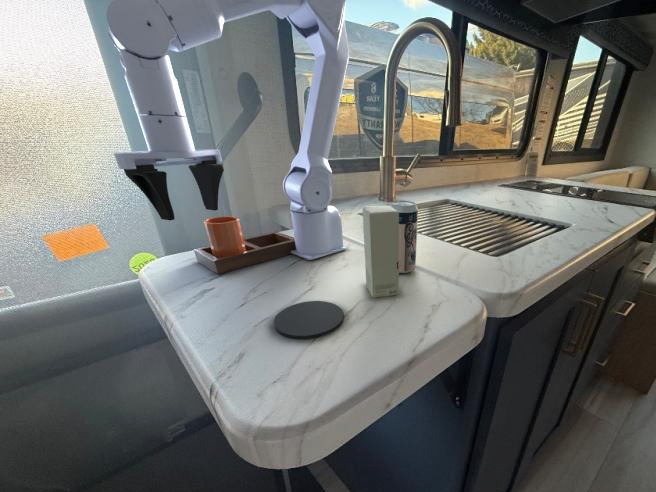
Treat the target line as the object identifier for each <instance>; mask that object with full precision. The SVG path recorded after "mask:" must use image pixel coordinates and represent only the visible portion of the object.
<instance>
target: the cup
mask: <svg viewBox="0 0 656 492" xmlns="http://www.w3.org/2000/svg"><path fill="white" fill-rule="evenodd" d="M203 224H204V228H205V232H206V235H207V239H208V243H209V246H211V250H212V253H213V256H214V257H216V258H221V257H225V256H229V255H233V254H237V253H241V252H245V251H246V249H245V244H244V240H243V239H244V236H243V232H242V226H241V223H240V218H239V217H237V216H233V215H232V216H231V215H225V216H224V215H223V216H215V217H210V218H206V219H204V220H203Z"/></svg>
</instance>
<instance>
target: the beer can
mask: <svg viewBox="0 0 656 492" xmlns="http://www.w3.org/2000/svg"><path fill="white" fill-rule="evenodd" d="M390 207H392V208H394V209H395V210H397V211H398V212H399V274H409V273H411V272H413V271H415V270H416V266H417V265H416V263H417V241H418V238H417V237H418V220H419V219H418V217H419V208H418V205H417V203H416V202H414V201H407V200H398V201H393V202H392V203H391V205H390Z"/></svg>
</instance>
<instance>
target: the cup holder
mask: <svg viewBox="0 0 656 492" xmlns="http://www.w3.org/2000/svg"><path fill="white" fill-rule="evenodd" d="M243 240H244V244H245V249H246V251H245V252H241V253H237V254H233V255H229V256H225V257H221V258H216V257H214V256H213V253H212V250H211V246H210V245H208V246H207V245H206V246H204V247H199V248H194V249H193V252H194V255H195V259H196V262H197V263H199V264H200V265H202V266H203V267H205V268H207V270H210V271H211V272H213V273H215V274H217V275H221V274H224V273H228V272H231V271H235V270H239V269H242V268H245V267H246V268H247V267H248V266H252V265H256V264H259V263H260V264H261V263H264V262H267V261H270V260H273V259H278V258H281V257H285V256H288V255H291V254H292V253H291V251H293V250H296V246H295V239H294V236H291V235H287V234H285V233H282V232H279V231H272V232H268V233H263V234H258V235H253V236H249V237H245V238H244V237H243Z"/></svg>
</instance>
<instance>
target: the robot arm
mask: <svg viewBox="0 0 656 492" xmlns="http://www.w3.org/2000/svg"><path fill="white" fill-rule="evenodd" d="M346 6H347V0H111V1H110V3H109V5H107V8H106V21H107V22H106V23H107V26H108V31H109V32H108V37H109V39H110V40H111V42H112V44H113V45H114V47H115V48H116V49H117V50H118V52H119V61H120V64H121V66H122V67H123V69H124V71H125V72H124V79H125V82H126V85H127V88H128V92H129V95H130V97H131V100H132V104H133V106H134V111H135V112H136V113H135V114H136V115H137V119H138V121H139V125H140V127H141V130H142V134H143V136H144V137H143V138H144V140H145V143H146V146H147V149H148V150H140V151H123V152H122V151H120V152H113V156H114V159H115V162H116V164H117V166H118V169H119V170H123V171H124V172H123V173H124V174H125V176H126V177H127V178H128V179H129V180H130V181H131V182H132V183H134V185H135V186H136V187H137V188H138V189H139V190H140V191H141V192H142V193H143V194H144V196H145V197H146V198H147V199H148V200H149V202H150V203H151V205H152V206H153V208H154V209H155V211H156V212H157V214H158V216H159V217H160V219H161V220H164V221H174V220H175V212H174V208H173V206H172V202H171V199H170V196H169V190H168V189H169V188H168V179H167V176H168V175H167V172H166V171H163V170H158V168H157V167H169V166H170V167H171V166H182V165H183V166H184V165H185V166H186V165H188V168H189V170H190V172H191V174H192V176H193V178H194V180H195V183H196V185H197V187H198V189H199V192H200V197H201V199H202V202H203V206H204V208H205V210H208V211H218V210H219V191H220V190H219V189H220V184H221V179H222V176H223V174H224V171H225V168H224V164H222V163H223V159H222V153H221V149H215V148H213V149H211V148H209V149H208V148H206V149H205V148H203V149H202V148H201V149H196V147H195V144H194V140H193V137H192V132H191V129H190V125H189V121H188V117H187V114H186V110H185V106H184V102H183V98H182V95H181V91H180V87H179V84H178V80H177V78H176V77H175V74H174V71H173V66H172V64H171V63H172V62H171V59H170V56H169V55H168V54H167V53H168V52H169V51H173V52H175V53H181V52H183V51H186V50H189V49H191V48H194V47H197V46H198V47H199V46H201V45H203V44H206V43H209V42H212V41H215V40H218V39H220V38H221V37H222V35H223V28H224V23H228V22H231V21H235V20H239V19H242V18H245V17H249V16H253V15H256V14H260V13H263V12H266V11H267V12H268V11H270V12H271V13H273V14H274V15H275V16H276V17H277V18H278V19H280V20H283V19H285V18H286V20H287V22H288V23H289V24H290V25H291V26H292V27H293V29H294V30H295V31H296V32H297V34H298V35H299V36H300V37H301V38H302V39H303V41H304V42H305V43H306V44H307V45H308V47H309V48H310V50H311V52H312V54H313V56H314V59H315V60H314V65H313V70H312V76H311V81H310V85H309V86H310V87H309V92H308V98H307V103H306V108H305V115H304V119H303V125H302V131H301V137H300V141H299V148H298V152H297V154H296V155H295V157H294V158H293V160H292V161H291V165H290V169H289V171H288V173H287V174H286V175H285V177H284V179H283V181H282V189H283V193H284V195H285V196H286V198H287V199H288V200H289V201H290V205H289V209H290V218H291V224H292V231H293V237H294V239H295V246H296V250H293V251H291V253H292V254H293V255H295V256H297V257H300V258H302V259H305V260H307V261H312V260H317V259H319V258H322V257H325V256H329V255H332V254H335V253H338V252H341V251H345V250H347V247H346V246H344V238H343V237H344V236H343V235H344V234H343V224H342V216H341V214H340V212H339V210H338V209H337V208H336V207H335V206H333V205H329V204H330V203H331V201H332V198H333V187H332V176H333V171H332V168H331V167H330V164H329V155H330V150H331V147H332V146H331V145H332V140H333V135H334V131H335V125H336V121H337V118H338V116H337V115H338V111H339V106H340V101H341V97H342V92H343V88H344V82H345V78H346V73H347V67H348V64H349V63H348V62H349V57H350V50H349V49H350V48H349V42H348V36H347V35H348V34H347V27H346V21H345V11H346ZM168 159H183V160H174V161H173V160H171V161H168Z"/></svg>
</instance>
